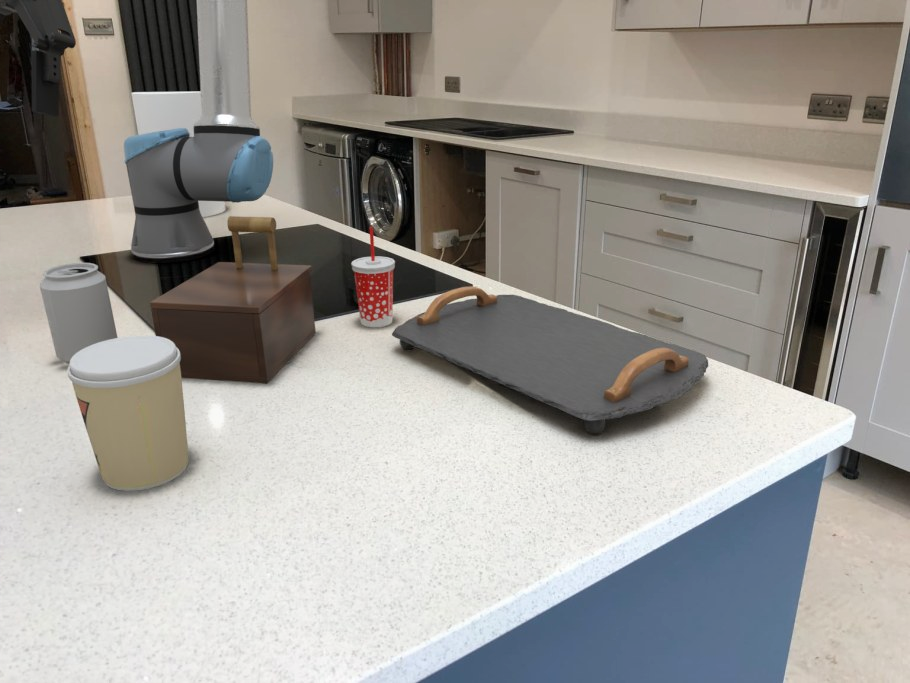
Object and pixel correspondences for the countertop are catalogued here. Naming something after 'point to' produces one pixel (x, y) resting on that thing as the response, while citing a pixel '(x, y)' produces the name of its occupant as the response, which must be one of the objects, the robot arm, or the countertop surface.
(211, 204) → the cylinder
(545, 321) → the serving tray
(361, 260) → the beverage cup
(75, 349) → the can
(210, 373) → the chest
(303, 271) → the lid
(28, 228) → the countertop surface
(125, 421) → the coffee cup
